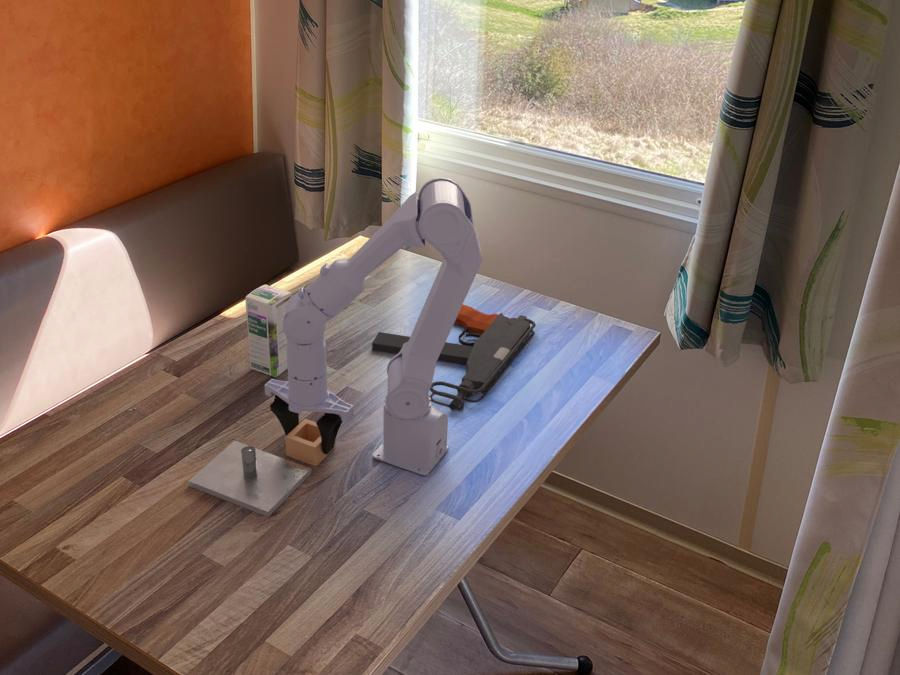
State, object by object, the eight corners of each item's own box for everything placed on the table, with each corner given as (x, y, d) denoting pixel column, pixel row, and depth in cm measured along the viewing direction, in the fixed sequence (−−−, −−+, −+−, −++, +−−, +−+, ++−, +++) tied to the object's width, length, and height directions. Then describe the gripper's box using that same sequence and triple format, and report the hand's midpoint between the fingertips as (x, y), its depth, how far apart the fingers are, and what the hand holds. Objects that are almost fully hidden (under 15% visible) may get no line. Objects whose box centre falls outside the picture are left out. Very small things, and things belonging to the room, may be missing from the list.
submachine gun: (420, 289, 193) (539, 319, 184) (420, 301, 194) (538, 331, 186) (338, 366, 168) (472, 405, 159) (339, 380, 169) (471, 419, 161)
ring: (335, 447, 152) (334, 428, 150) (316, 466, 148) (315, 447, 146) (305, 437, 154) (305, 418, 152) (286, 455, 150) (285, 436, 148)
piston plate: (311, 473, 146) (309, 444, 143) (268, 517, 138) (266, 487, 135) (234, 445, 151) (232, 417, 149) (188, 486, 143) (185, 456, 140)
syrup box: (249, 369, 170) (243, 296, 162) (269, 353, 174) (264, 282, 167) (275, 378, 168) (271, 305, 160) (296, 362, 172) (292, 290, 165)
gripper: (250, 369, 143) (256, 443, 150) (335, 397, 137) (337, 473, 144) (278, 347, 148) (282, 420, 155) (360, 373, 143) (361, 447, 150)
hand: (310, 444), depth 150 cm, fingers open, 6 cm apart
